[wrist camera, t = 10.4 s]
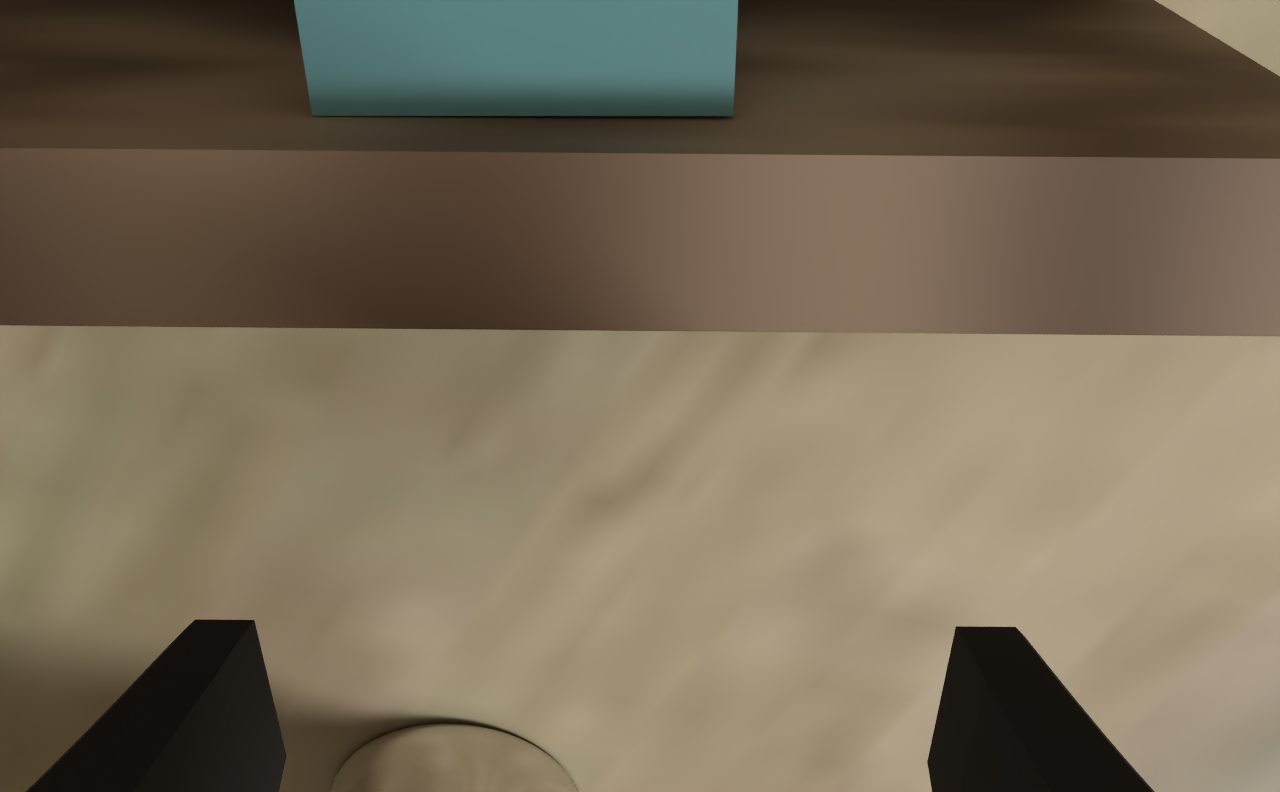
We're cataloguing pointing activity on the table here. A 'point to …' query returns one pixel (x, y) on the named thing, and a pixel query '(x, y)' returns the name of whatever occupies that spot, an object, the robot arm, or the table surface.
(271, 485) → the table surface
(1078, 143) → the brown wooden ledge block
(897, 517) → the table surface
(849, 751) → the table surface
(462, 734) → the beer glass
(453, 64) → the teal rectangular block
